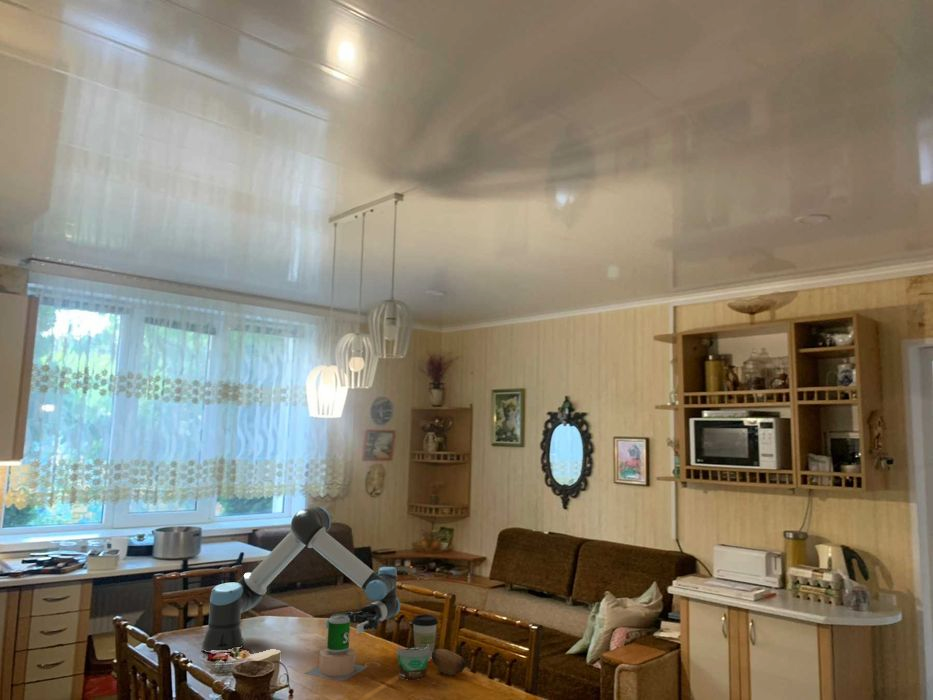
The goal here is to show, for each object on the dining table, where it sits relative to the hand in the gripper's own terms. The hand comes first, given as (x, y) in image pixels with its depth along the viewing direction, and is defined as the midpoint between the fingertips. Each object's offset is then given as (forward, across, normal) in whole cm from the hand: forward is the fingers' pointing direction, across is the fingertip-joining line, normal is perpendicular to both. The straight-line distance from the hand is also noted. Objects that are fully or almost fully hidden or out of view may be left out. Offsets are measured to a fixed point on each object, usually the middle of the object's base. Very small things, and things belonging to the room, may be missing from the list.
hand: (341, 626), depth 231 cm
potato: (-17, -34, -16) cm, 42 cm away
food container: (-7, -27, -16) cm, 32 cm away
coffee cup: (-27, -19, -16) cm, 37 cm away
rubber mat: (+1, 0, -15) cm, 15 cm away
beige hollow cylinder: (+1, 0, -14) cm, 14 cm away
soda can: (+1, 0, -8) cm, 8 cm away
